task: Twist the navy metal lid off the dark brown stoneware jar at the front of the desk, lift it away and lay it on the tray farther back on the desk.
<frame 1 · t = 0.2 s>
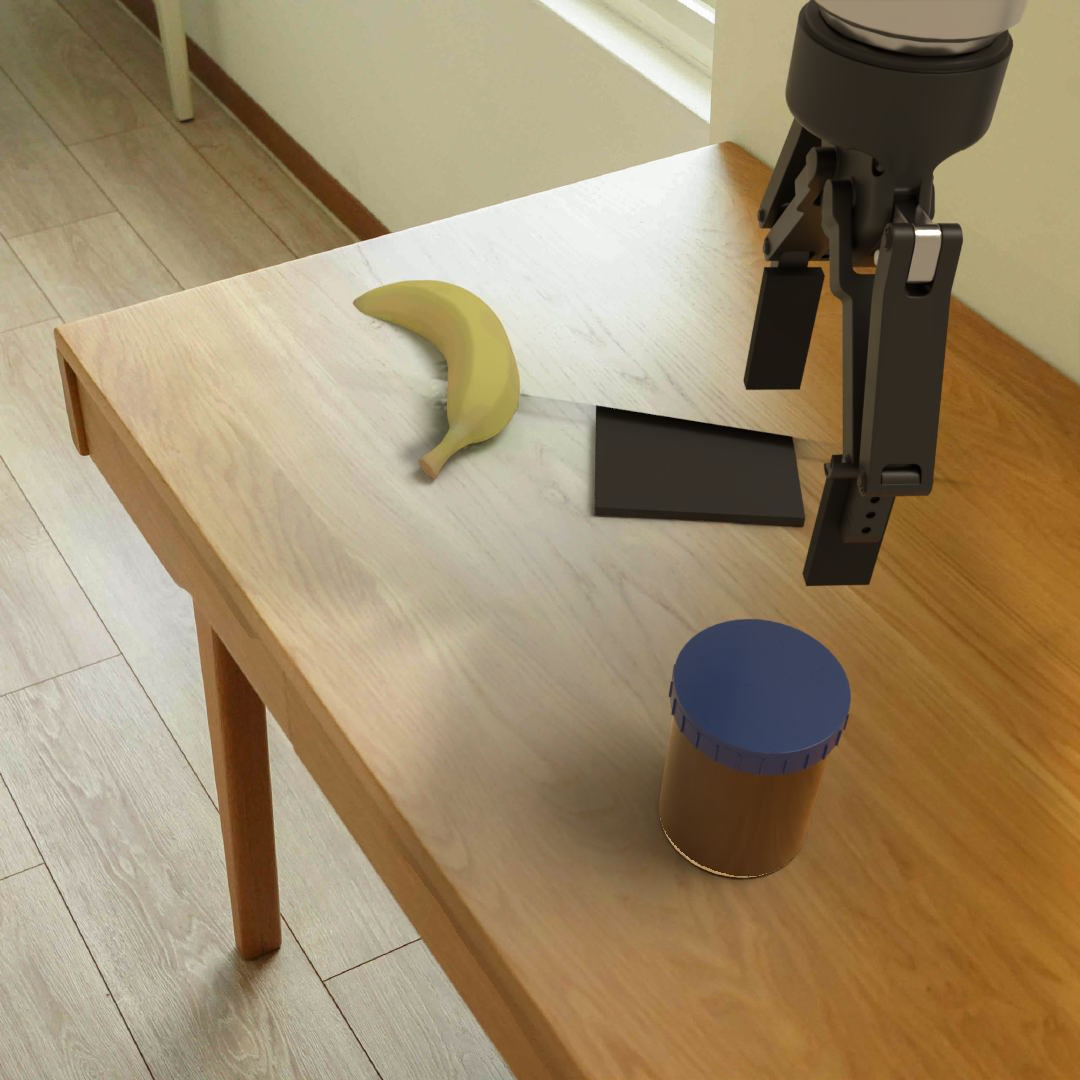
hand: (800, 475, 62), 21 cm above the table, tool pointing down, fingers open, 13 cm apart
tray: (694, 454, 95), on the table
banana: (428, 396, 99), on the table
jar lid: (760, 688, 66), point 10 cm above the table, screwed on, not yet turned
jar: (732, 815, 73), on the table
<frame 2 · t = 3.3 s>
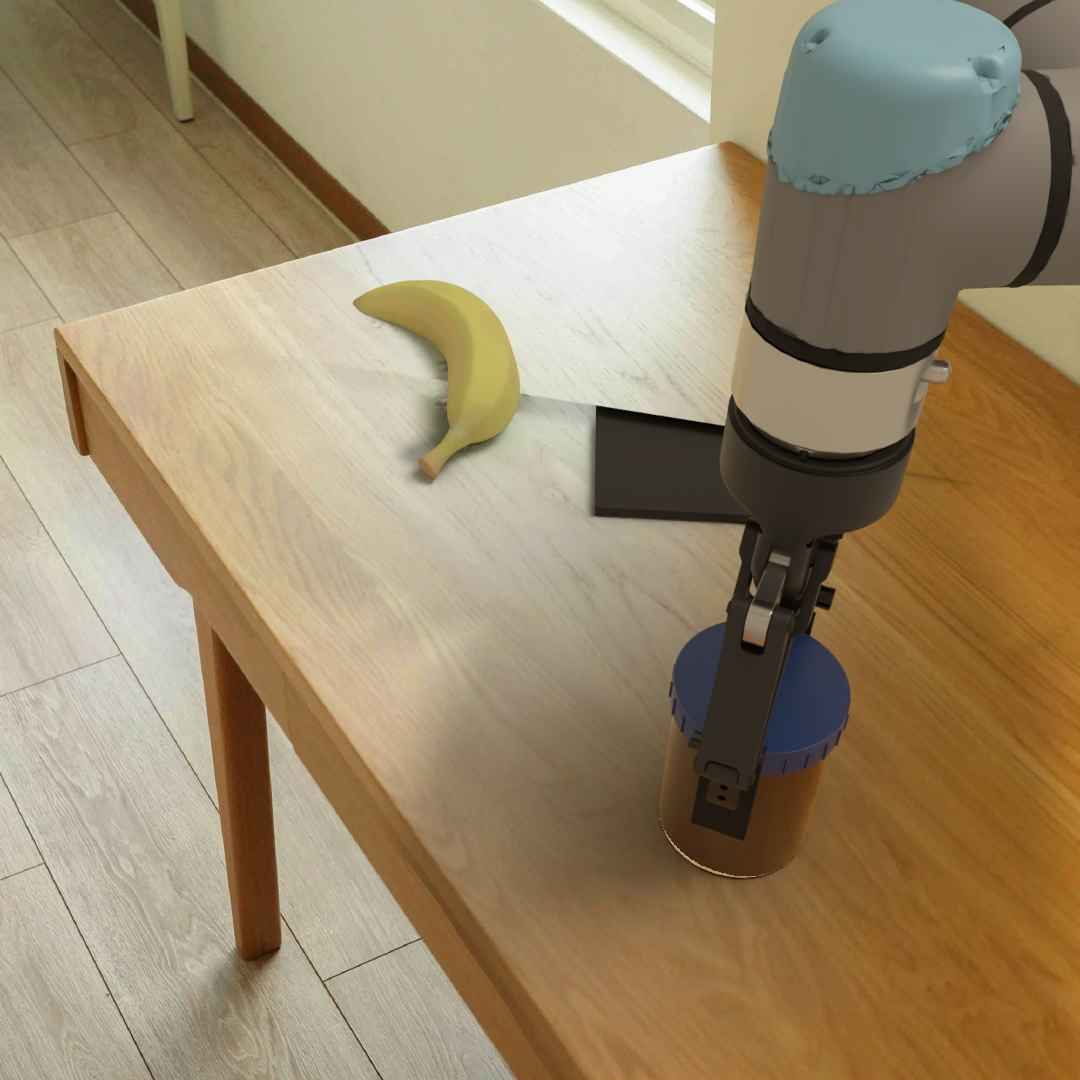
hand: (745, 756, 69), 5 cm above the table, tool pointing down, fingers closed on jar lid, 9 cm apart
jar lid: (760, 688, 66), point 10 cm above the table, screwed on, not yet turned, touching gripper
everything else where it was.
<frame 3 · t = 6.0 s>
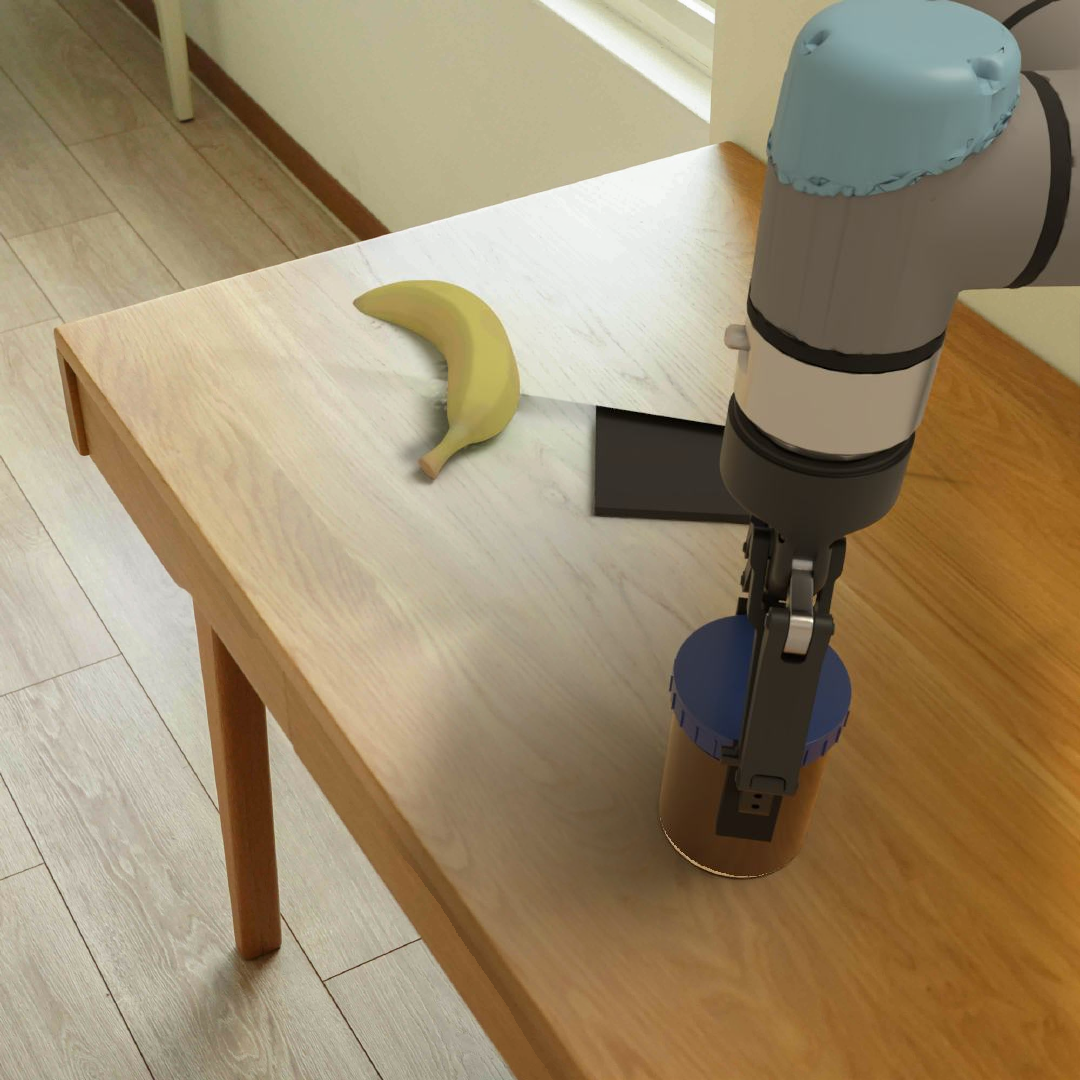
hand: (745, 757, 69), 5 cm above the table, tool pointing down, fingers closed on jar lid, 9 cm apart
jar lid: (761, 683, 65), point 11 cm above the table, off its thread, touching gripper
everything else where it was.
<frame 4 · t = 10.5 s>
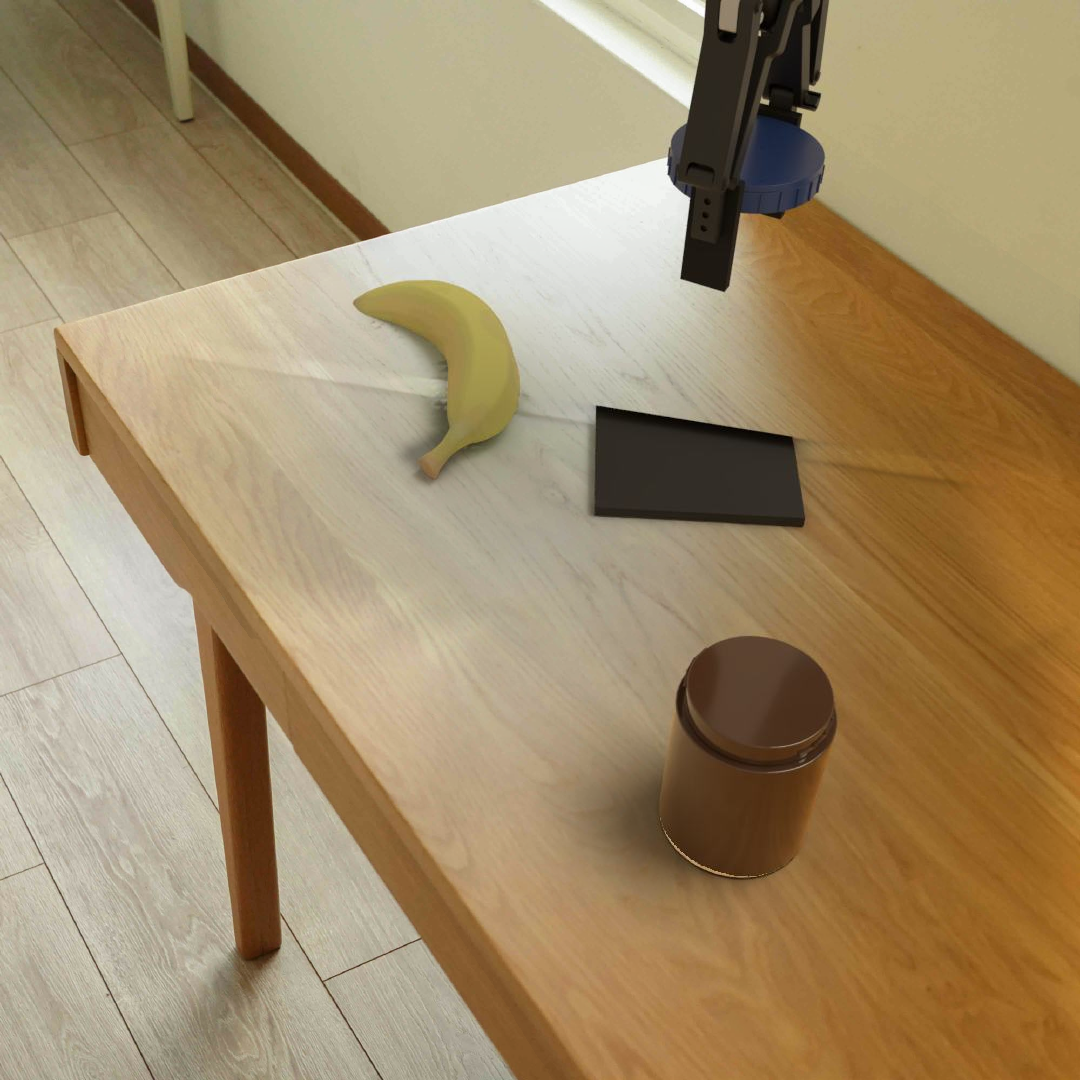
hand: (734, 245, 79), 19 cm above the table, tool pointing down, fingers closed on jar lid, 9 cm apart
jar lid: (746, 154, 75), point 25 cm above the table, off its thread, touching gripper
everything else where it was.
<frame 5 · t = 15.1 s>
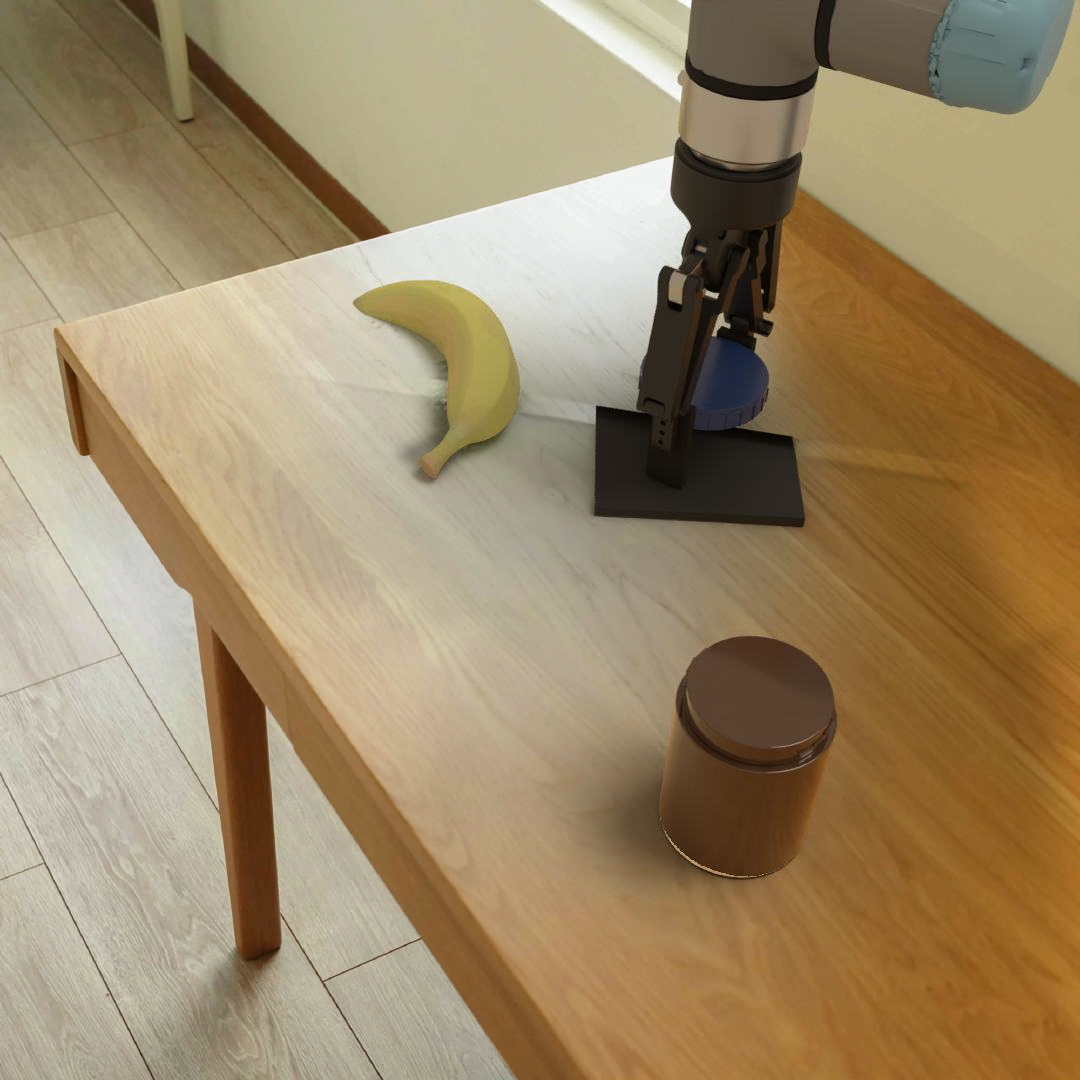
hand: (696, 442, 94), 1 cm above the table, tool pointing down, fingers closed on jar lid, 9 cm apart
jar lid: (704, 375, 91), point 7 cm above the table, off its thread, touching gripper
everything else where it was.
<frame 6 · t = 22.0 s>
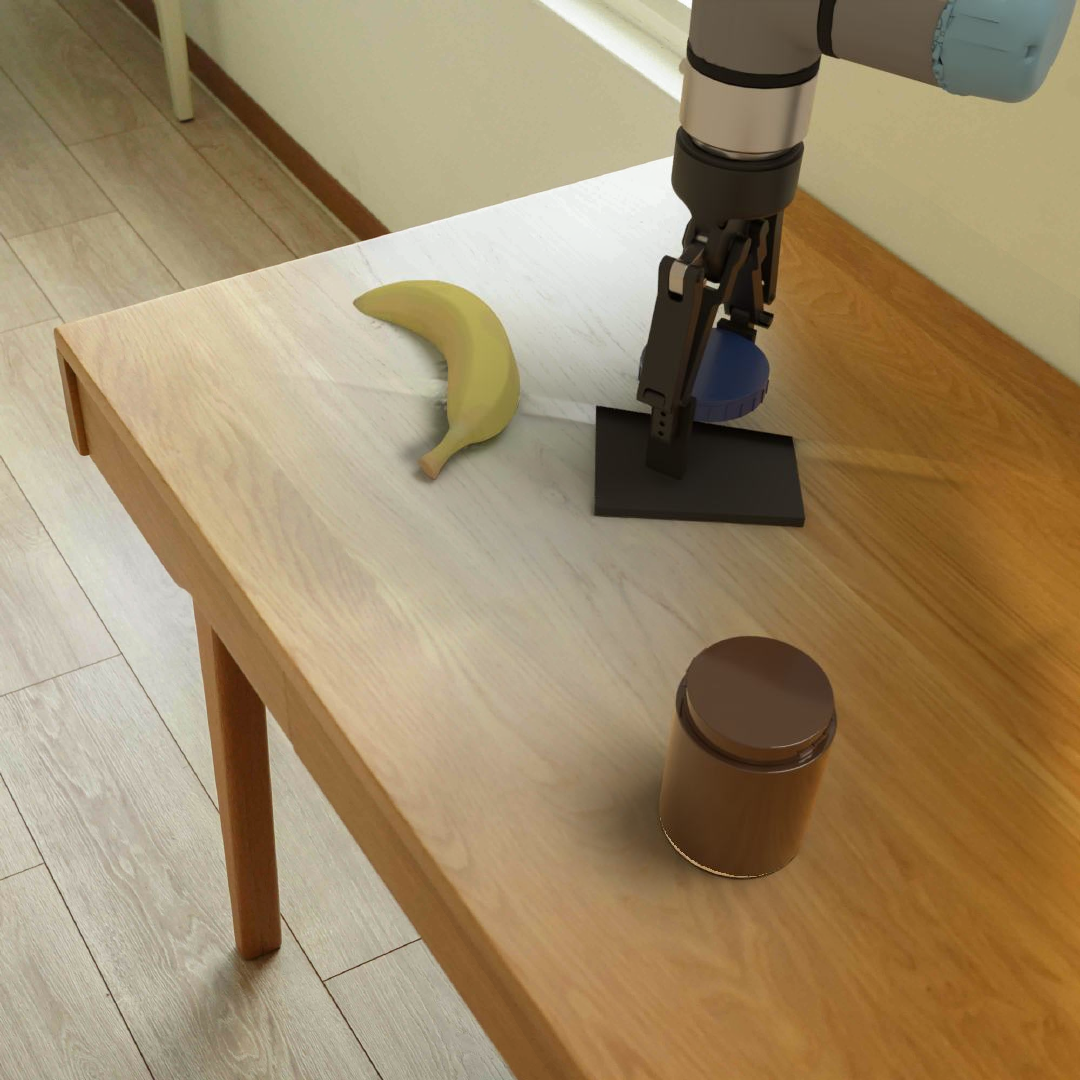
hand: (695, 434, 94), 2 cm above the table, tool pointing down, fingers closed on jar lid, 8 cm apart
jar lid: (704, 367, 90), point 7 cm above the table, off its thread, touching gripper
everything else where it was.
when the fingers open (3 cm above the table, at t = 28.6 s): jar lid drops 7 cm, resting on tray.
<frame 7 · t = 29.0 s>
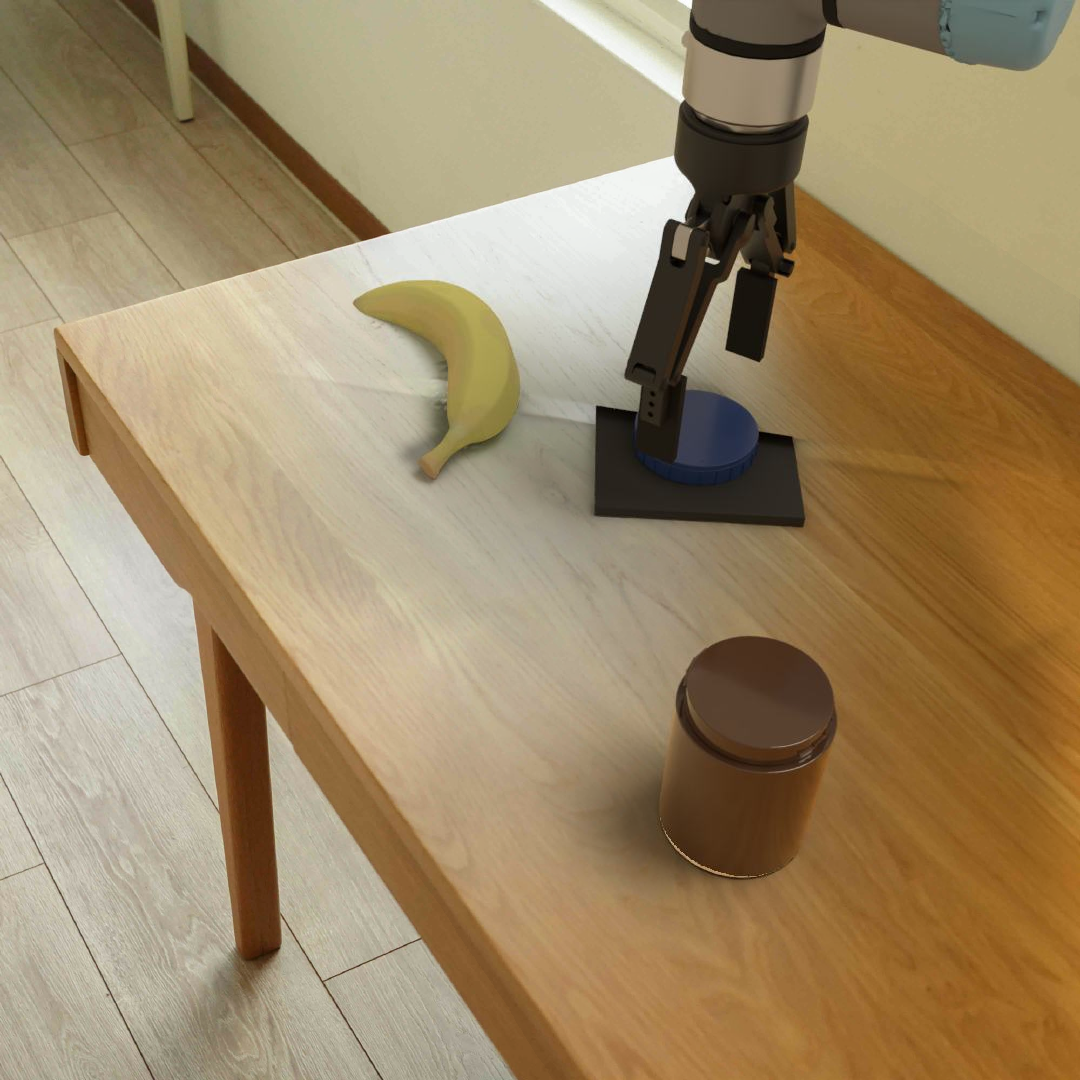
hand: (701, 402, 92), 5 cm above the table, tool pointing down, fingers open, 13 cm apart
jar lid: (696, 431, 94), point 2 cm above the table, off its thread, touching tray
everything else where it was.
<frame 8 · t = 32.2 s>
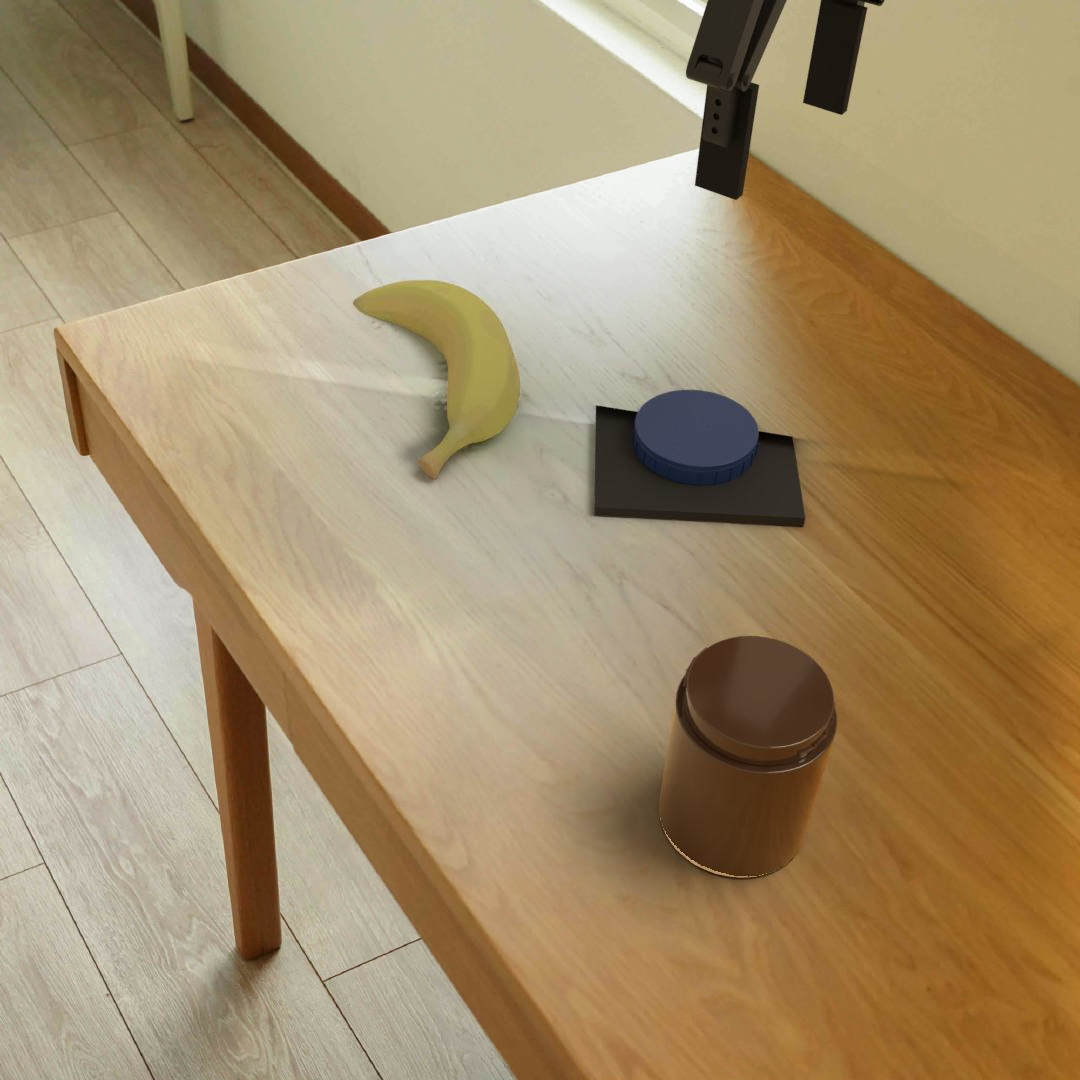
hand: (774, 147, 81), 23 cm above the table, tool pointing down, fingers open, 13 cm apart
nothing on the table moved.
at the end: jar lid inside the target area on the tray (0.1 cm from its centre), point 2.1 cm above the tray's base; jar lid point 2.1 cm above the table; the gripper is holding nothing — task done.
